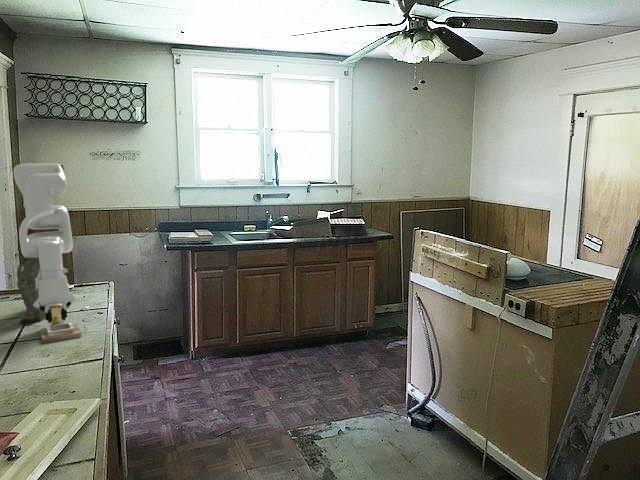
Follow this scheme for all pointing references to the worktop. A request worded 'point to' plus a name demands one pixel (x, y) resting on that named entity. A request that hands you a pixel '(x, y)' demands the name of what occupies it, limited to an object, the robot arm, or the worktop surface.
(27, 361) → the worktop surface
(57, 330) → the fitting board
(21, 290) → the mechanical leg
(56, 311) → the cylinder
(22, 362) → the worktop surface
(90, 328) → the worktop surface
